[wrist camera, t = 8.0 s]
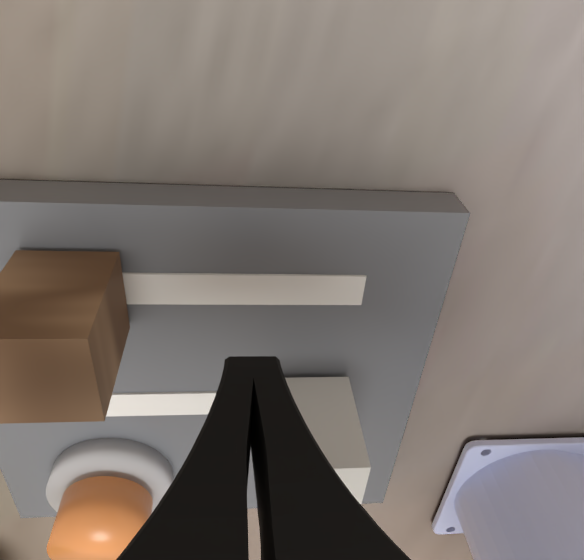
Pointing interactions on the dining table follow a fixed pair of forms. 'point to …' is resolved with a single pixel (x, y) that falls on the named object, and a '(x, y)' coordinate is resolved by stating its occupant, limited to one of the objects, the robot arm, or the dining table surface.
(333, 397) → the slider cream
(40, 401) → the slider walnut
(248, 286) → the panel
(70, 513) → the button orange
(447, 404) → the dining table surface
